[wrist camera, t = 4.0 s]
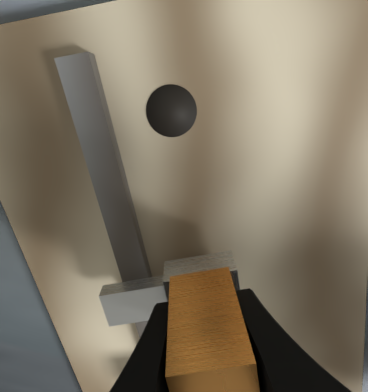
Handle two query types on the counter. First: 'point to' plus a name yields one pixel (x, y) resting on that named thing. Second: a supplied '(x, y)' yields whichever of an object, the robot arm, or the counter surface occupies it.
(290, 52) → the hole gauge board
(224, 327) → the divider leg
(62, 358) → the counter surface
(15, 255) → the counter surface
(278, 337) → the robot arm
